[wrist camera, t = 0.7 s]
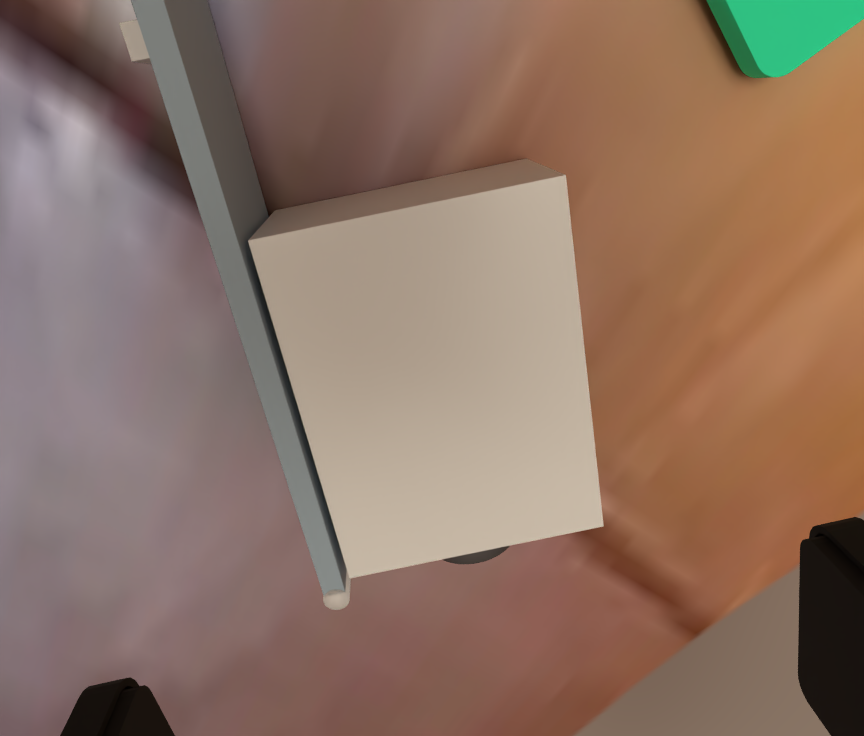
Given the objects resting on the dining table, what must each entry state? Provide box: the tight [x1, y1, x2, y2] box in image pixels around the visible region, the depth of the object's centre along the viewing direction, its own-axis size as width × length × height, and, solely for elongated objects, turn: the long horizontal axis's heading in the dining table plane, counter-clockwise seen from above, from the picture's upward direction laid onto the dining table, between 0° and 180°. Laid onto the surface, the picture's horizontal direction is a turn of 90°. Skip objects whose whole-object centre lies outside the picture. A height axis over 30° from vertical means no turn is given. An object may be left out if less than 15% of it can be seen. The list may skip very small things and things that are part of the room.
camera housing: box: [248, 158, 603, 578], centre depth 31 cm, size 18×12×7 cm
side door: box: [119, 0, 351, 610], centre depth 29 cm, size 28×2×7 cm, turn 11°
